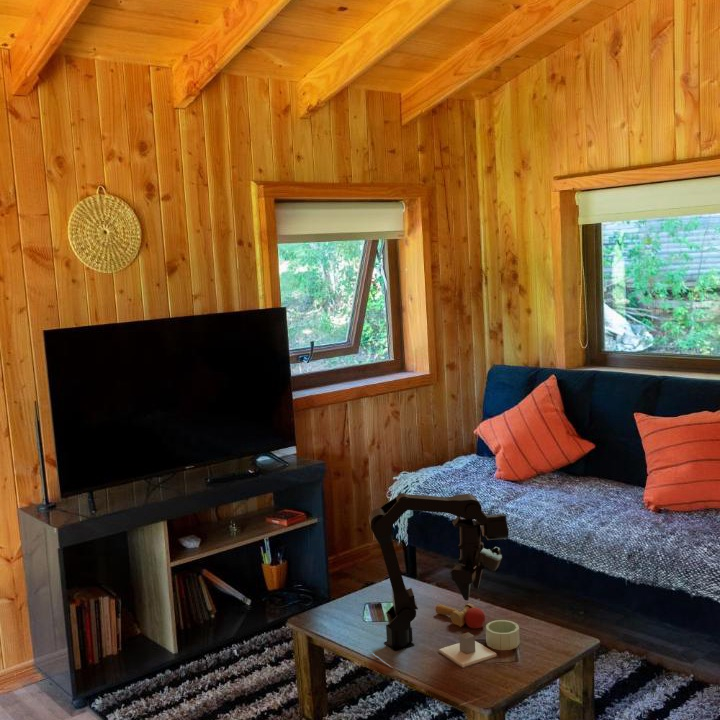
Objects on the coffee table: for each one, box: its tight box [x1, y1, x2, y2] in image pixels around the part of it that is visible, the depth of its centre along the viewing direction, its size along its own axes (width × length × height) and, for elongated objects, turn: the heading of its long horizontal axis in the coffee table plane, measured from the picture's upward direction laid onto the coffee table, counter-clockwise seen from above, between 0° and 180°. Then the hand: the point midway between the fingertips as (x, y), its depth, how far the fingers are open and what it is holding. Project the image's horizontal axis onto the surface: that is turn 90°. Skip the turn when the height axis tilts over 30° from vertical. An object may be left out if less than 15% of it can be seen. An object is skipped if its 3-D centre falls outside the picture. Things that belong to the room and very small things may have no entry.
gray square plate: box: [437, 650, 500, 669], centre depth 246 cm, size 12×12×1 cm
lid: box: [438, 632, 497, 667], centre depth 245 cm, size 11×11×5 cm
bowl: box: [485, 619, 521, 651], centre depth 251 cm, size 9×9×5 cm
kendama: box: [435, 603, 486, 630], centre depth 267 cm, size 8×6×18 cm
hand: (471, 594), depth 253 cm, fingers open, 9 cm apart
